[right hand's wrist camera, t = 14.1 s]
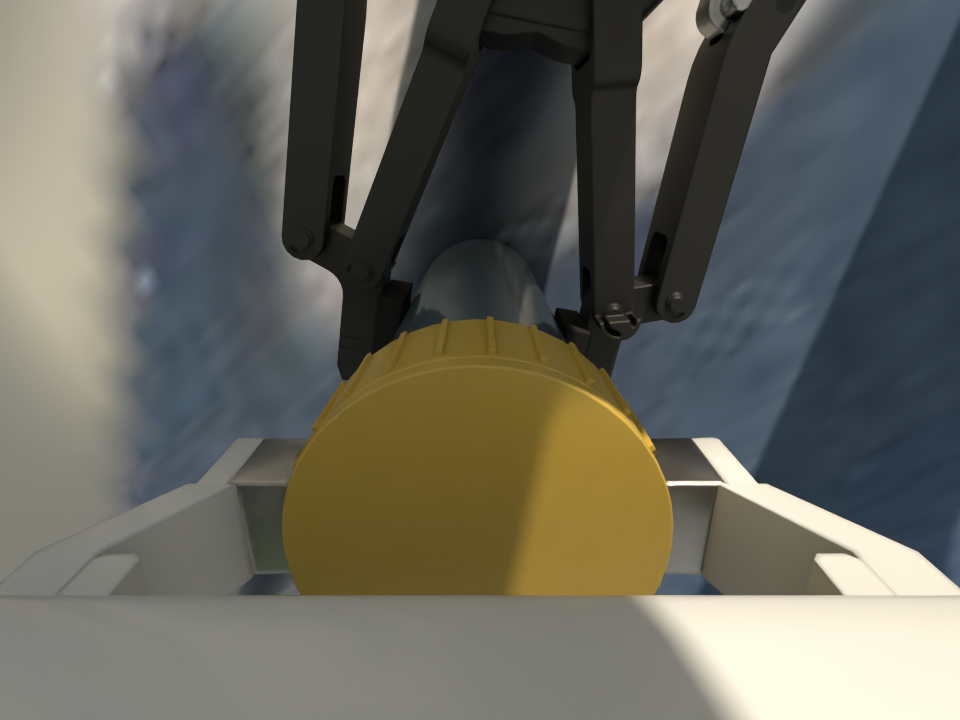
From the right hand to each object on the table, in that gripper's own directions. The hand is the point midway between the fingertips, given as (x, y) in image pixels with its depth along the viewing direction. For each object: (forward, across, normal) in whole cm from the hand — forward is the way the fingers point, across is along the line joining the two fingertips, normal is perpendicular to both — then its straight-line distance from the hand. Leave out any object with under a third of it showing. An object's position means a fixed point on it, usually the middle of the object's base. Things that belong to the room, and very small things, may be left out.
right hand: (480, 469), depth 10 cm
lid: (-2, 0, 0) cm, 2 cm away
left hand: (+8, -1, -5) cm, 10 cm away
